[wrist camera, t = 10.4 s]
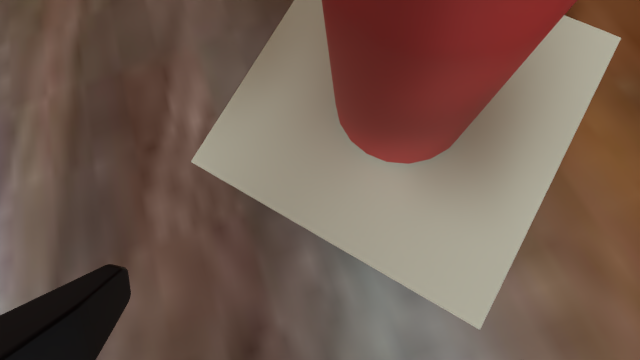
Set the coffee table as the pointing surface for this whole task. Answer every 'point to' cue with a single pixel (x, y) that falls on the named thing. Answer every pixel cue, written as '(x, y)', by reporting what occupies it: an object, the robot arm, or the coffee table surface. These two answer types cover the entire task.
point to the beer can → (426, 66)
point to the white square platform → (407, 179)
